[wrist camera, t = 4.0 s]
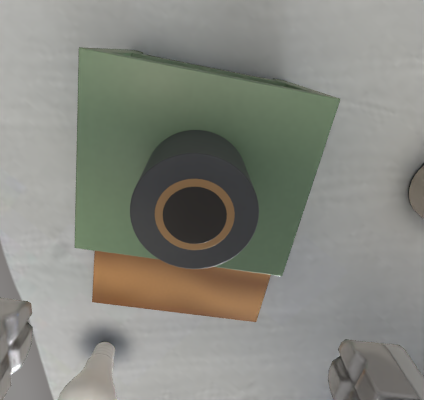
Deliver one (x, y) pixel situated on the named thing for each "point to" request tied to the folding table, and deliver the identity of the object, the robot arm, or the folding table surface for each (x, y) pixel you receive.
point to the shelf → (193, 120)
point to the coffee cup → (417, 192)
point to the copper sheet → (177, 287)
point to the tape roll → (194, 201)
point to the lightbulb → (93, 377)
